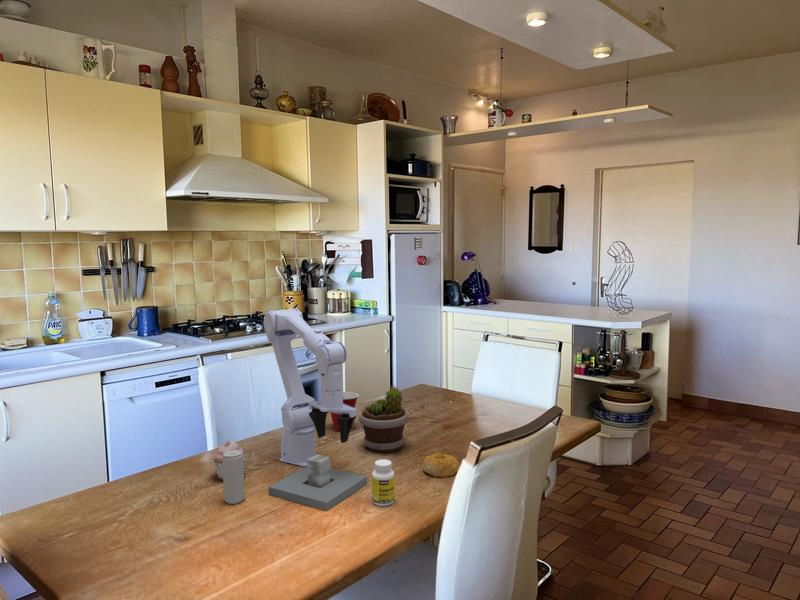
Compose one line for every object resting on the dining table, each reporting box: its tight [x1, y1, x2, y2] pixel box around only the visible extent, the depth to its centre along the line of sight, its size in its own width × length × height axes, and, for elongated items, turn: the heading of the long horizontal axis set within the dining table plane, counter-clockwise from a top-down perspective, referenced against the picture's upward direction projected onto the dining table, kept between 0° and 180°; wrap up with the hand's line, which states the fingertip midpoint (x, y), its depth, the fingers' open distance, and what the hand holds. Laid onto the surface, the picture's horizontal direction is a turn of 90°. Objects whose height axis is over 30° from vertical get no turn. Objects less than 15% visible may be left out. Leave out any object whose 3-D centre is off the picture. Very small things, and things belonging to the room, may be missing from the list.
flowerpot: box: [358, 384, 409, 453], centre depth 173 cm, size 14×15×20 cm
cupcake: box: [211, 440, 249, 481], centre depth 153 cm, size 9×9×10 cm
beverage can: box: [222, 449, 246, 505], centre depth 138 cm, size 5×5×12 cm
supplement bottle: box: [371, 459, 396, 507], centre depth 137 cm, size 5×5×10 cm
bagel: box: [421, 452, 460, 478], centre depth 156 cm, size 10×11×5 cm
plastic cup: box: [330, 391, 360, 432], centre depth 190 cm, size 11×11×12 cm
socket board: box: [268, 466, 368, 512], centre depth 145 cm, size 18×17×2 cm
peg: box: [307, 454, 331, 488], centre depth 145 cm, size 4×4×8 cm
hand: (332, 439), depth 151 cm, fingers open, 7 cm apart
